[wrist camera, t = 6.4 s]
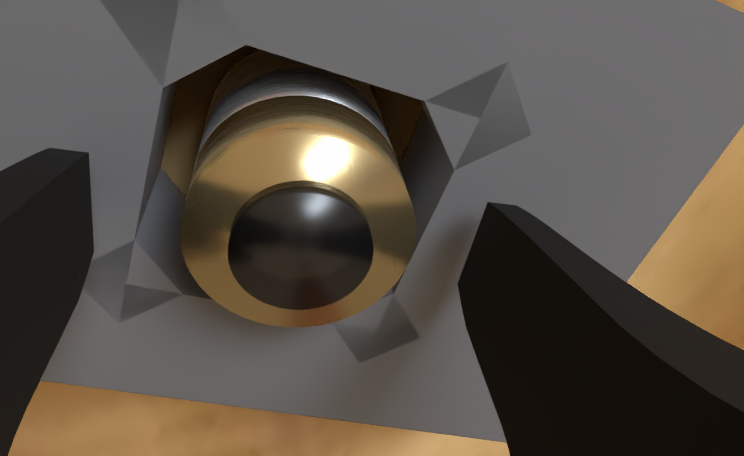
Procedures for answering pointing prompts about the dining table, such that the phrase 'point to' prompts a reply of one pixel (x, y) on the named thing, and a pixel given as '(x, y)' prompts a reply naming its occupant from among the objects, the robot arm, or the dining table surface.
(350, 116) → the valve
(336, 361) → the socket plate
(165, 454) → the dining table surface
